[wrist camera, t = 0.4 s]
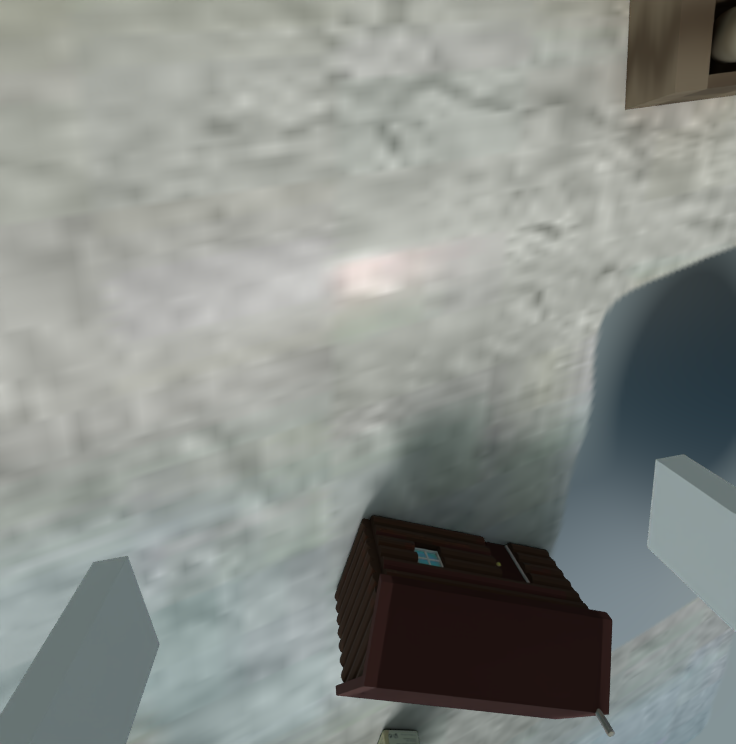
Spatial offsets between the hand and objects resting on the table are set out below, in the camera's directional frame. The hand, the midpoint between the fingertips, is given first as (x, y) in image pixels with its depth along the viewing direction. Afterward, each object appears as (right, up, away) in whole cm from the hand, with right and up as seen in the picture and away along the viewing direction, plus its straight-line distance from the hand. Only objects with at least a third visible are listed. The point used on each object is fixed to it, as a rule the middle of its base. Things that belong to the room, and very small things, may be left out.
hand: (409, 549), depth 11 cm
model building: (+7, -16, +36) cm, 40 cm away
